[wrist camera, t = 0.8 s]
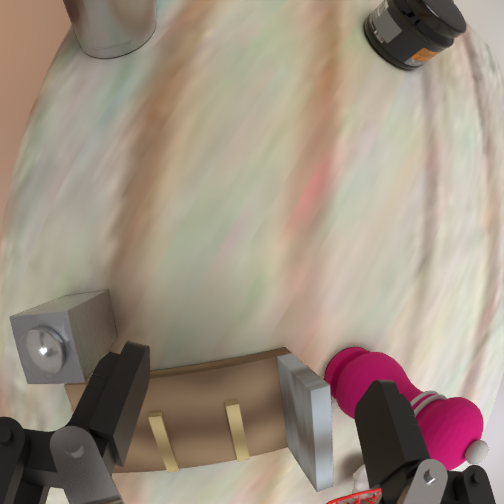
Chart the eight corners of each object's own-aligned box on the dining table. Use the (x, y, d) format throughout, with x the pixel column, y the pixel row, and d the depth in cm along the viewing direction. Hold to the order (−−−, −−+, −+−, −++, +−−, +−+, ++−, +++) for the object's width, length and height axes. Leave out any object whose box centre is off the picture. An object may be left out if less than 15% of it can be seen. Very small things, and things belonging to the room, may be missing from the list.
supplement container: (429, 72, 35) (480, 39, 24) (384, 73, 33) (440, 30, 21) (397, 19, 34) (439, -19, 23) (349, 15, 32) (391, -34, 21)
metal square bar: (66, 295, 25) (2, 319, 13) (108, 289, 26) (61, 313, 14) (75, 341, 25) (21, 389, 13) (117, 336, 26) (80, 388, 14)
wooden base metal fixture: (70, 378, 25) (32, 425, 15) (285, 347, 30) (330, 385, 20) (103, 462, 25) (87, 521, 15) (295, 434, 30) (332, 486, 20)
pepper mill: (313, 403, 30) (430, 514, 11) (326, 341, 31) (477, 422, 11) (367, 398, 32) (489, 480, 12) (380, 342, 32) (525, 398, 13)
